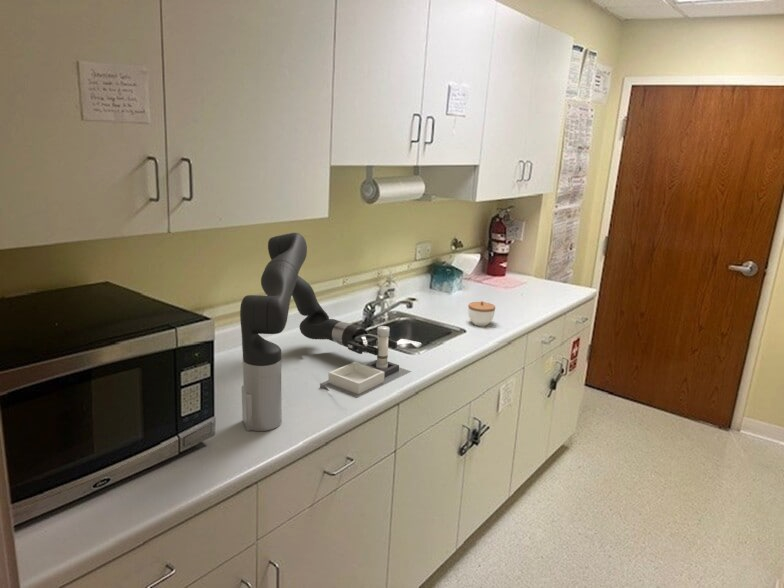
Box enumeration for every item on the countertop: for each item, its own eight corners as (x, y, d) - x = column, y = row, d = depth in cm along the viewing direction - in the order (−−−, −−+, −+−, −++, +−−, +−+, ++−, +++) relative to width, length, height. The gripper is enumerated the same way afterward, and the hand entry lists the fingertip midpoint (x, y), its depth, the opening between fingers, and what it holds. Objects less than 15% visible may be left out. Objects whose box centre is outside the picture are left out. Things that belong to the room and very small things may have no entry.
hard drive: (407, 353, 197) (421, 342, 208) (385, 348, 200) (400, 337, 211) (407, 357, 197) (421, 346, 208) (385, 352, 201) (400, 342, 211)
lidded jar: (474, 328, 229) (476, 305, 227) (462, 320, 239) (464, 298, 236) (498, 327, 233) (500, 304, 230) (485, 318, 242) (487, 297, 240)
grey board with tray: (356, 401, 161) (357, 387, 160) (320, 387, 169) (320, 373, 168) (411, 374, 181) (411, 361, 180) (376, 363, 189) (376, 350, 188)
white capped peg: (378, 373, 178) (380, 330, 174) (374, 369, 181) (375, 326, 178) (389, 372, 180) (391, 329, 176) (384, 367, 183) (386, 325, 179)
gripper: (333, 329, 181) (372, 342, 171) (364, 320, 192) (402, 331, 182) (333, 351, 183) (371, 366, 173) (363, 341, 194) (401, 354, 184)
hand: (387, 348), depth 177 cm, fingers open, 8 cm apart
